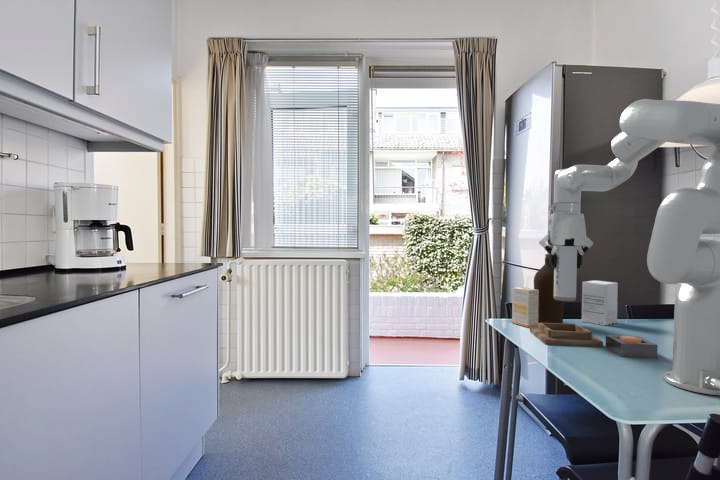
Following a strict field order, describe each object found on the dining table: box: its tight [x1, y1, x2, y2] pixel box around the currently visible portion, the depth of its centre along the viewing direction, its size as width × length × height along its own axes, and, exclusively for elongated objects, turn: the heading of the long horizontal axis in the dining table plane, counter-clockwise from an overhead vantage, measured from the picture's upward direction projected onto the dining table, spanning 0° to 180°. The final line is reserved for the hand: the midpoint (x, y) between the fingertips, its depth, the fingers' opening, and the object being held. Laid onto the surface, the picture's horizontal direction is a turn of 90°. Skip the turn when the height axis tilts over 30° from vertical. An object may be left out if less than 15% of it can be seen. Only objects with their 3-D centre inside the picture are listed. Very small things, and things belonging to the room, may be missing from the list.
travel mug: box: [554, 238, 578, 302], centre depth 131 cm, size 6×7×20 cm
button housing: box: [605, 334, 658, 359], centre depth 117 cm, size 9×9×4 cm
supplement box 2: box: [581, 279, 619, 326], centre depth 156 cm, size 9×9×15 cm
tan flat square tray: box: [529, 322, 604, 348], centre depth 131 cm, size 16×16×4 cm
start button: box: [619, 335, 641, 343], centre depth 117 cm, size 5×5×3 cm
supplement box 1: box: [511, 286, 539, 328], centre depth 150 cm, size 8×5×13 cm, turn 22°
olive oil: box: [533, 253, 565, 323], centre depth 155 cm, size 11×11×25 cm
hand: (565, 267), depth 131 cm, fingers closed on travel mug, 6 cm apart
